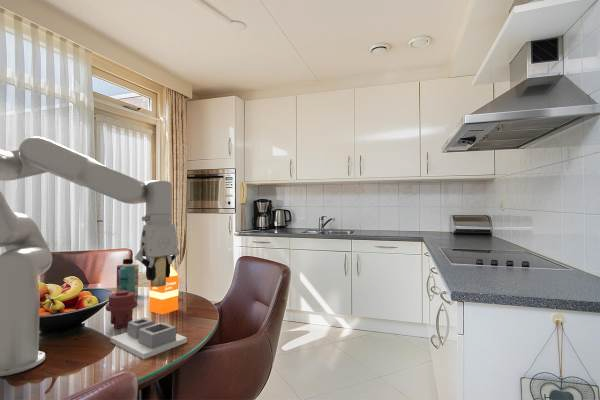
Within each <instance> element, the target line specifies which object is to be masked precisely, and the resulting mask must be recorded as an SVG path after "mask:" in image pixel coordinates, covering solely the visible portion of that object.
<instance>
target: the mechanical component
mask: <svg viewBox="0 0 600 400" xmlns="http://www.w3.org/2000/svg"><path fill="white" fill-rule="evenodd" d="M136 307H138V300H136V296H135V293H134V292H128V291H127V290H123V291H118V292H114V293H112V294H110V295H108V303H107V304H106V305H105V310H106V311H108V312H110V325H113V329H114V330H117V329H119V328H124V327H128V322H131V321H133V311H134V310H133V309H135V308H136Z"/></svg>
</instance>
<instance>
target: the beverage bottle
mask: <svg viewBox="0 0 600 400" xmlns="http://www.w3.org/2000/svg"><path fill="white" fill-rule="evenodd" d="M122 264H134V259H133V258H124V259H122ZM119 279H120V280H119V281H120V284H119V291H123V290H127V291H128V292H134V293H135V267H134V266H123V267H122V268H121V269H120V278H119Z"/></svg>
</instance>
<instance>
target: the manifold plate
mask: <svg viewBox="0 0 600 400" xmlns="http://www.w3.org/2000/svg"><path fill="white" fill-rule="evenodd" d="M187 341H188V339H187V337H186V336H184V335H181V334H179V333H177V326H174V325H171V324H168V323H166V322H163V321H162V322H161V321H160V322H157V323H155V324H154V320H152V319H149V318H147V317H142V318H138V319H135V320H132V321H131V322H128V326H127V332H123V333H121V334H117V335H114V336H110V343H112V344H113V345H115V346H118V347H119V348H121V349H122V350H125V351H127V352H129V353H131V354H133V355H135V356H136V357H139V358H141V359H142V360H146V359H148V358H150V357H153V356H156V355H159V354H160V353H163V352H166V351H168V350H171V349H173V348H177V347H179V346H181V345H183V344H186V343H187Z"/></svg>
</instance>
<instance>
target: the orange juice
mask: <svg viewBox="0 0 600 400" xmlns="http://www.w3.org/2000/svg"><path fill="white" fill-rule="evenodd" d="M172 264H173V263H172ZM172 264H170V277H168V278H167V277H166V285H165V286H161V287H151V280H149V310H148V311H149V312H152V313H156V314H160V315H165V314H168V313H170V312H174V311H178V310H179V273H178V272H177V270H176V269H175V267H174V266H173V265H172Z"/></svg>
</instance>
